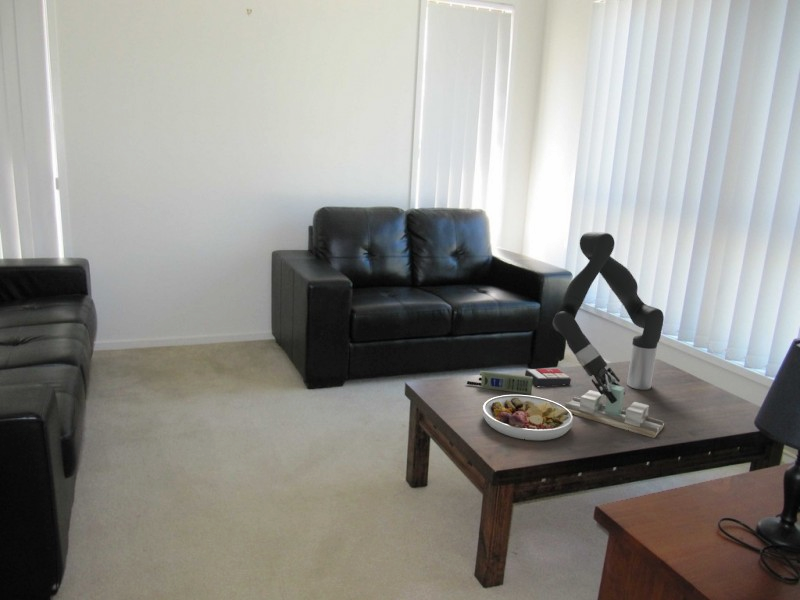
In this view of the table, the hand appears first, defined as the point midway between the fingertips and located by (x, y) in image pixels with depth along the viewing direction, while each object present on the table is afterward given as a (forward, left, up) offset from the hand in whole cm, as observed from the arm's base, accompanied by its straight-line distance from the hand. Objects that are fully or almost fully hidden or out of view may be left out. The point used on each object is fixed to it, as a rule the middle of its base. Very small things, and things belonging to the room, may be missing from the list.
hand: (618, 398), depth 220 cm
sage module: (0, -1, -6) cm, 6 cm away
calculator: (-20, -35, -9) cm, 41 cm away
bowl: (+25, -22, -9) cm, 35 cm away
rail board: (0, -1, -8) cm, 8 cm away
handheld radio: (+2, -45, -8) cm, 46 cm away
